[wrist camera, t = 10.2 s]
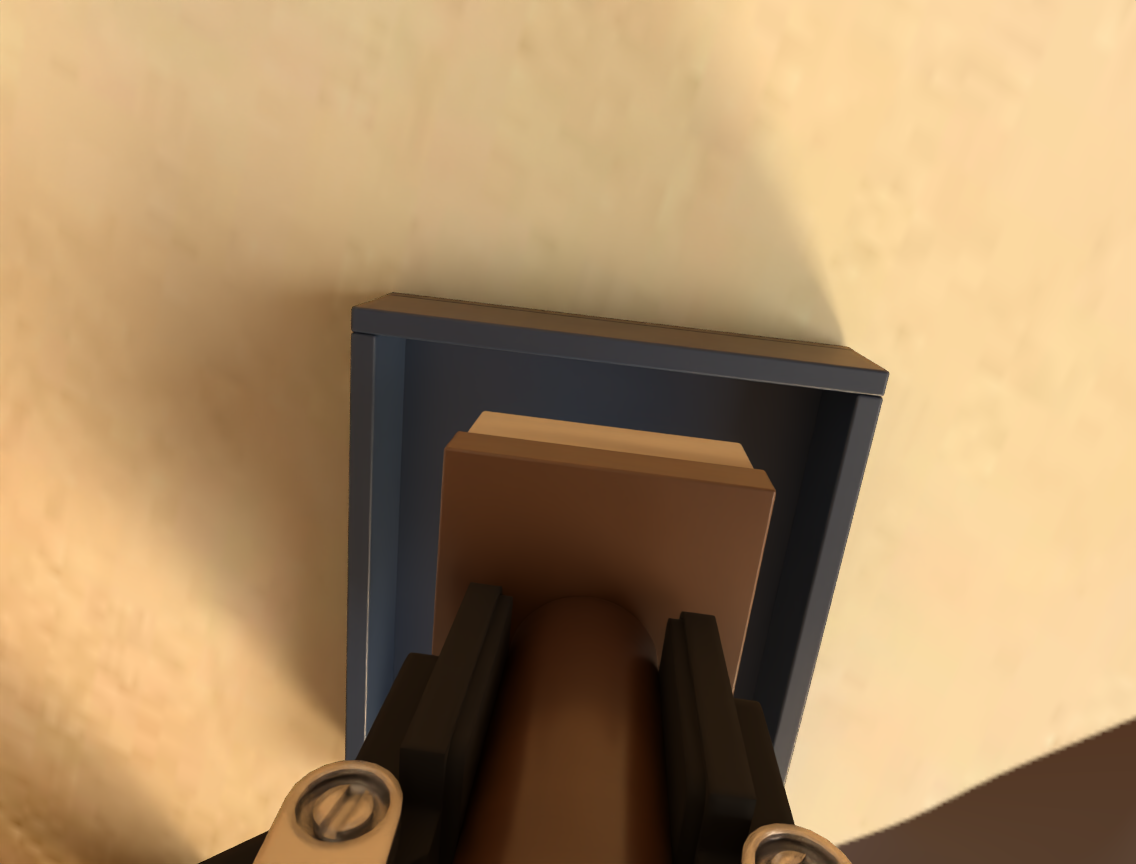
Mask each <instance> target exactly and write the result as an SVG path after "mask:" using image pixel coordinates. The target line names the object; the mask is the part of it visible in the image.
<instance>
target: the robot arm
mask: <svg viewBox="0 0 1136 864" xmlns="http://www.w3.org/2000/svg"><path fill="white" fill-rule="evenodd" d="M512 607H513V596H506V595H502V586H496V585H488V584H481V583H474V582H470V584H469V586H468V589H467V591H466V593H465V596H464V598H463V600H462V603H461V605H460V607H459V610H458V612H457V614H456V617H455V619H454V622H453V624H452V626H451V629H450V631H449V633H448V636H447V638H446V640H445V643H444V645H443V647H442V650H441V652H440V655H439V656H435V655H428V654H421V653H413V652H411V653H409V654H408V656H407V657H406V659H405V661H404V663H403V665H402V667H401V669H400V671H399V673H398V675H397V677H396V679H395V681H394V683H393V685H392V687H391V689H390V691H389V693H388V695H387V697H386V699H385V701H384V703H383V705H382V707H381V709H380V711H379V713H378V715H377V717H376V719H375V721H374V723H373V725H372V727H371V729H370V731H369V733H368V735H367V737H366V739H365V741H364V743H363V745H362V747H361V749H360V751H359V753H358V755H357V757H356V759H355V760H346V761H339V762H335V763H331V764H327V765H324V766H322V767H320V768H318V769H316V770H314V771H312V772H310V773H308V774H307V775H306V776H305V777H303V778H302V779H301V780H300V781H298V782H297V783H296V784H295V785H294V787H293V788H292V789H291V791H290V792H289V794H288V795H287V796H286V798H285V800H284V802H283V804H282V806H281V808H280V810H279V812H278V814H277V816H276V818H275V820H274V822H273V824H272V826H271V828H270V830H269V831H267V832H265V833H262V834H260V835H258V836H256V837H254V838H252V839H250V840H247V841H245V842H243V843H241V844H239V845H237V846H235V847H233V848H230V849H228V850H226V851H224V852H222V853H220V854H218V855H215V856H213V857H211V858H209V859H207V860H205V861H203V862H200V863H198V864H452V862H453V858H454V854H455V851H456V848H457V844H458V841H459V837H460V833H461V829H462V826H463V822H464V818H465V814H466V811H467V807H468V803H469V799H470V796H471V792H472V788H473V784H474V781H475V777H476V773H477V769H478V766H479V762H480V758H481V754H482V751H483V747H484V743H485V739H486V736H487V732H488V728H489V724H490V721H491V717H492V713H493V709H494V706H495V702H496V698H497V694H498V691H499V687H500V683H501V679H502V676H503V672H504V668H505V664H506V661H507V657H508V649H509V638H510V628H511V618H512ZM658 673H659V686H660V700H661V713H662V726H663V740H664V753H665V767H666V780H667V794H668V807H669V821H670V834H671V848H672V861H673V864H852V863H851V862H850V861H849V860H848V858H847V857H846V856H845V854H844V853H843V852H842V851H840V850H839V849H838V848H837V847H836V846H834V845H833V844H832V843H831V842H830V841H829V840H827V839H825V838H824V837H822V836H820V835H818V834H816V833H815V832H813V831H811V830H808V829H805V828H802V827H799V826H796V825H795V824H794V820H793V817H792V813H791V810H790V806H789V803H788V799H787V795H786V792H785V788H784V785H783V781H782V777H781V774H780V770H779V767H778V763H777V760H776V756H775V752H774V749H773V745H772V742H771V738H770V734H769V731H768V727H767V724H766V720H765V717H764V713H763V710H762V707H761V705H760V703H759V702H757V701H752V700H745V699H738V698H734V697H733V693H732V688H731V684H730V679H729V675H728V671H727V666H726V662H725V657H724V653H723V648H722V644H721V640H720V635H719V631H718V626H717V622H716V618H715V616H714V615H708V614H700V613H693V612H686V611H682V612H681V614H680V617H679V619H674V618H669V619H668V622H667V626H666V632H665V638H664V643H663V649H662V655H661V661H660V666H659V672H658Z"/></svg>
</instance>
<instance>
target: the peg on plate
mask: <svg viewBox="0 0 1136 864" xmlns="http://www.w3.org/2000/svg"><path fill="white" fill-rule="evenodd" d="M775 496H776V490H775V488H774V486H773V485H772V483H771V481H770V479H769V477H768V476H767V474H766V472H765V471H764V470H760V469H754V468H753V466H752V465H751V463H750V461H749V459H748V457H747V455H746V453H745V451H744V449H743V447H742V445H741V444H739V443H734V442H726V441H719V440H711V439H703V438H695V437H687V436H679V435H671V434H663V433H655V432H647V431H639V430H632V429H624V428H616V427H608V426H600V425H592V424H584V423H576V422H568V421H560V420H553V419H545V418H537V417H529V416H521V415H513V414H505V413H497V412H489V411H484V412H482V413H481V415H480V416H479V417H478V419H477V420H476V421H475V423H474V424H473V425H472V427H471V428H470V430H469V431H468V432H463V431H458V432H457V433H456V434H455V435H454V437H453V438H452V439H451V440H450V442H449V443H448V444H447V446H446V447H445V448H444V456H443V473H442V489H441V506H440V523H439V540H438V557H437V574H436V590H435V607H434V624H433V641H432V655H435V656H439V655H440V652H441V650H442V647H443V645H444V643H445V640H446V638H447V636H448V633H449V631H450V629H451V626H452V624H453V622H454V619H455V617H456V614H457V612H458V610H459V607H460V605H461V603H462V600H463V598H464V596H465V593H466V591H467V589H468V586H469V584H470V582H474V583H481V584H488V585H496V586H502V595H506V596H513V607H512V618H511V628H510V638H509V649H508V657H507V661H506V664H505V668H504V672H503V676H502V679H501V683H500V687H499V691H498V694H497V698H496V702H495V706H494V709H493V713H492V717H491V721H490V724H489V728H488V732H487V736H486V739H485V743H484V747H483V751H482V754H481V758H480V762H479V766H478V769H477V773H476V777H475V781H474V784H473V788H472V792H471V796H470V799H469V803H468V807H467V811H466V814H465V818H464V822H463V826H462V829H461V833H460V837H459V841H458V844H457V848H456V851H455V854H454V858H453V862H452V864H673V861H672V848H671V834H670V821H669V807H668V794H667V780H666V767H665V753H664V740H663V726H662V713H661V700H660V686H659V673H658V672H659V666H660V661H661V655H662V649H663V643H664V638H665V632H666V626H667V622H668V619H669V618H674V619H679V617H680V614H681V612H682V611H686V612H693V613H700V614H708V615H714V616H715V618H716V622H717V626H718V631H719V635H720V640H721V644H722V648H723V653H724V657H725V662H726V666H727V671H728V675H729V679H730V684H731V688H732V693H734V689H735V684H736V679H737V675H738V670H739V665H740V660H741V656H742V651H743V646H744V642H745V637H746V632H747V627H748V623H749V618H750V613H751V609H752V604H753V599H754V595H755V590H756V585H757V580H758V576H759V571H760V566H761V562H762V557H763V552H764V547H765V543H766V538H767V533H768V529H769V524H770V519H771V514H772V510H773V505H774V500H775Z"/></svg>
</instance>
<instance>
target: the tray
mask: <svg viewBox="0 0 1136 864" xmlns="http://www.w3.org/2000/svg"><path fill="white" fill-rule="evenodd" d="M351 330H352V331H353V333H352V334H351V377H350V450H349V522H348V595H347V667H346V740H345V761H346V760H355V759H356V757H357V755H358V753H359V751H360V749H361V747H362V745H363V743H364V741H365V739H366V737H367V735H368V733H369V731H370V729H371V727H372V725H373V723H374V721H375V719H376V717H377V715H378V713H379V711H380V709H381V707H382V705H383V703H384V701H385V699H386V697H387V695H388V693H389V691H390V689H391V687H392V685H393V683H394V681H395V679H396V677H397V675H398V673H399V671H400V669H401V667H402V665H403V663H404V661H405V659H406V657H407V656H408V654H409V653H411V652H413V653H421V654H428V655H432V641H433V624H434V607H435V590H436V574H437V557H438V540H439V523H440V506H441V489H442V473H443V456H444V448H445V447H446V446H447V444H448V443H449V442H450V440H451V439H452V438H453V437H454V435H455V434H456V433H457V432H458V431H463V432H468V431H469V430H470V428H471V427H472V425H473V424H474V423H475V421H476V420H477V419H478V417H479V416H480V415H481V413H482V412H484V411H489V412H497V413H505V414H513V415H521V416H529V417H537V418H545V419H553V420H560V421H568V422H576V423H584V424H592V425H600V426H608V427H616V428H624V429H632V430H639V431H647V432H655V433H663V434H671V435H679V436H687V437H695V438H703V439H711V440H719V441H726V442H734V443H739V444H741V445H742V447H743V449H744V451H745V453H746V455H747V457H748V459H749V461H750V463H751V465H752V466H753V468H754V469H760V470H764V471H765V472H766V474H767V476H768V477H769V479H770V481H771V483H772V485H773V486H774V488H775V490H776V496H775V500H774V505H773V510H772V514H771V519H770V524H769V529H768V533H767V538H766V543H765V547H764V552H763V557H762V562H761V566H760V571H759V576H758V580H757V585H756V590H755V595H754V599H753V604H752V609H751V613H750V618H749V623H748V627H747V632H746V637H745V642H744V646H743V651H742V656H741V660H740V665H739V670H738V675H737V679H736V684H735V689H734V693H733V697H734V698H738V699H745V700H752V701H757V702H759V703H760V705H761V707H762V710H763V713H764V717H765V720H766V724H767V727H768V731H769V734H770V738H771V742H772V745H773V749H774V752H775V756H776V760H777V763H778V767H779V770H780V774H781V777H782V781H783V785H784V786H785V782H786V778H787V774H788V771H789V767H790V763H791V759H792V755H793V751H794V747H795V743H796V739H797V735H798V731H799V727H800V723H801V719H802V715H803V711H804V708H805V704H806V700H807V696H808V692H809V688H810V684H811V680H812V676H813V672H814V668H815V664H816V660H817V656H818V652H819V649H820V645H821V641H822V637H823V633H824V629H825V625H826V621H827V617H828V613H829V609H830V605H831V601H832V597H833V593H834V589H835V586H836V582H837V578H838V574H839V570H840V566H841V562H842V558H843V554H844V550H845V546H846V542H847V538H848V534H849V530H850V527H851V523H852V519H853V515H854V511H855V507H856V503H857V499H858V495H859V491H860V487H861V483H862V479H863V475H864V471H865V467H866V464H867V460H868V456H869V452H870V448H871V444H872V440H873V436H874V432H875V428H876V424H877V420H878V416H879V412H880V408H881V405H882V401H883V399H882V397H881V396H883V395H884V393H885V389H886V385H887V381H888V377H889V372H888V371H887V370H885V369H883V368H882V367H880V366H878V365H877V364H875V363H873V362H872V361H870V360H868V359H867V358H865V357H864V356H862V355H860V354H859V353H857V352H855V351H854V350H853V349H851V348H849V347H845V346H836V345H828V344H820V343H811V342H803V341H795V340H786V339H778V338H770V337H761V336H753V335H744V334H736V333H728V332H719V331H711V330H703V329H694V328H686V327H678V326H669V325H661V324H653V323H644V322H636V321H628V320H619V319H611V318H603V317H594V316H586V315H577V314H569V313H561V312H552V311H544V310H536V309H527V308H519V307H511V306H502V305H494V304H486V303H477V302H469V301H461V300H452V299H444V298H436V297H427V296H419V295H410V294H402V293H394V292H393V293H390V294H387V295H385V296H382V297H379V298H376V299H374V300H371V301H368V302H365V303H362V304H359V305H356V306H354V307H352V309H351Z"/></svg>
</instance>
